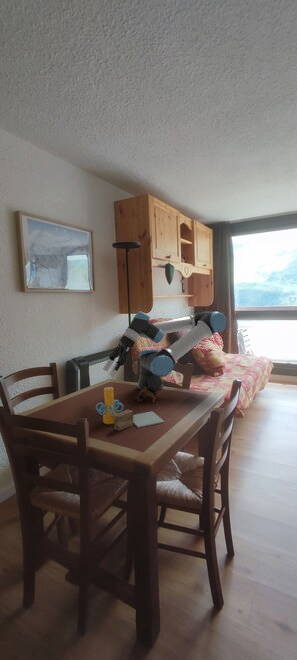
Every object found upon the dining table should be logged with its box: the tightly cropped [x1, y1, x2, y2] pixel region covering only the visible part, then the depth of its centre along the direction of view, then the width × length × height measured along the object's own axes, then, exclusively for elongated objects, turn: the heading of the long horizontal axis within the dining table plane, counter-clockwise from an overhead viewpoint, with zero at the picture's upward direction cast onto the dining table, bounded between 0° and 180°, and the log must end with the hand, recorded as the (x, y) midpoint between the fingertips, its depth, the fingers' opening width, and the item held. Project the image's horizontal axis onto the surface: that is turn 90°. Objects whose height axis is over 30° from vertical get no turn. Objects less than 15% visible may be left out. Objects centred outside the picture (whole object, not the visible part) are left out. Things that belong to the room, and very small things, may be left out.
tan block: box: [113, 409, 135, 432], centre depth 124 cm, size 3×8×6 cm, turn 137°
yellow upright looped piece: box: [95, 386, 124, 425], centre depth 129 cm, size 12×10×15 cm
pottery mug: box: [136, 387, 157, 403], centre depth 155 cm, size 12×10×8 cm
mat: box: [133, 411, 165, 429], centre depth 131 cm, size 12×13×1 cm
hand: (108, 373), depth 156 cm, fingers open, 13 cm apart
